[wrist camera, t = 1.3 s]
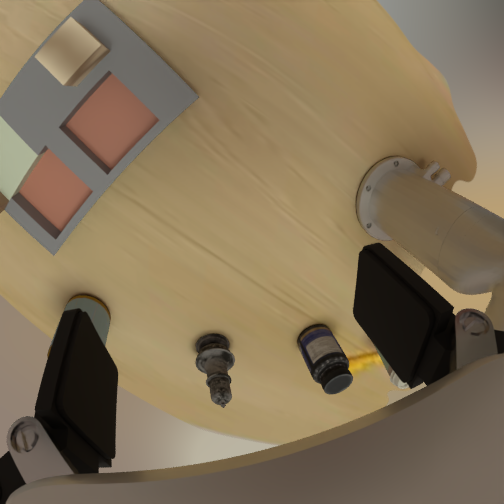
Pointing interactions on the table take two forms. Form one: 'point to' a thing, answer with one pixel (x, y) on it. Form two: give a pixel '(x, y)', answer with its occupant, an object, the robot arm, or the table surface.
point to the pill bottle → (325, 359)
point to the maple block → (71, 53)
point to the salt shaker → (216, 366)
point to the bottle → (91, 314)
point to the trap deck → (81, 127)
